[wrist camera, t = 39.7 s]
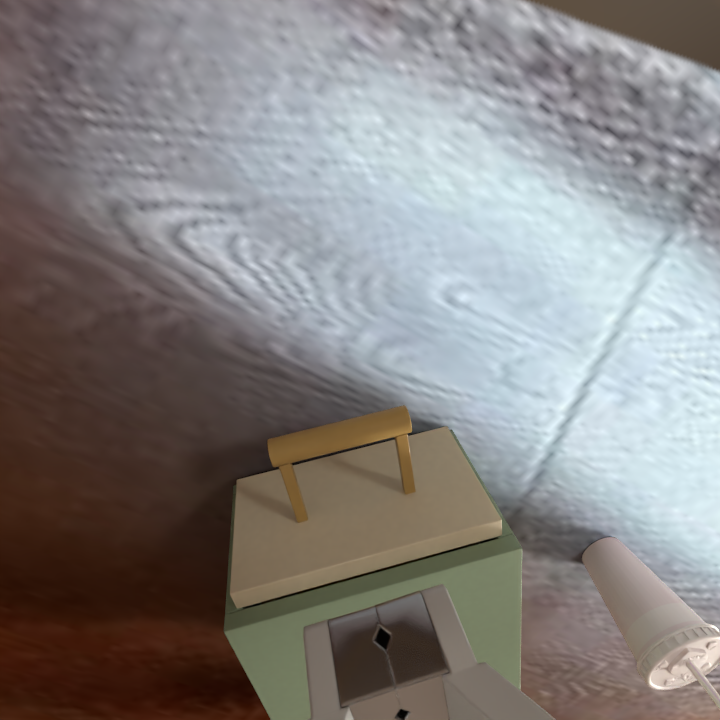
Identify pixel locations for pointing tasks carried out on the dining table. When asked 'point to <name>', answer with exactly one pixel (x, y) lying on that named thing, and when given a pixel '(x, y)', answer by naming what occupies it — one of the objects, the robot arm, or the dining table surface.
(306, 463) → the drawer
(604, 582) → the smoothie
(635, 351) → the dining table surface
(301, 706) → the cabinet
